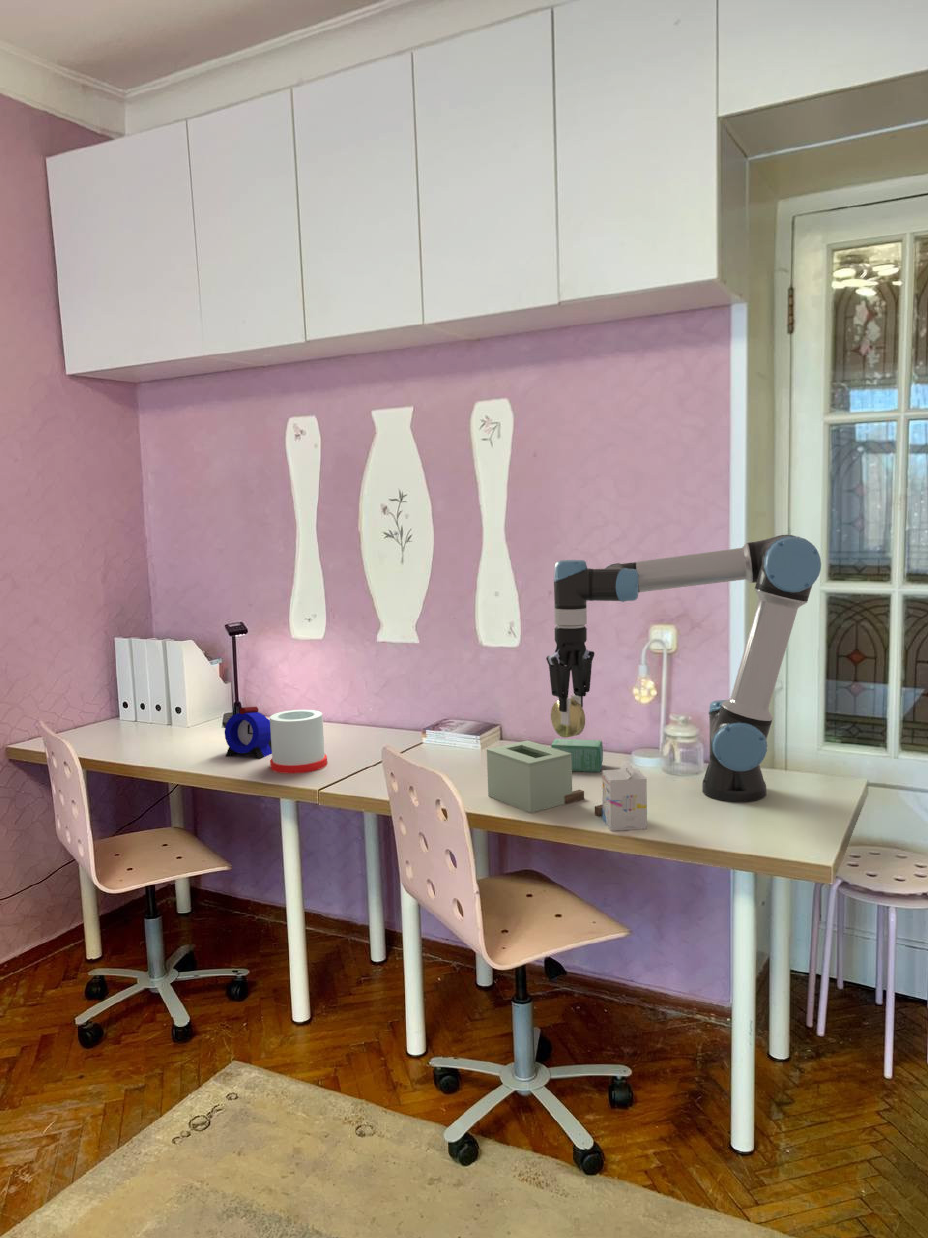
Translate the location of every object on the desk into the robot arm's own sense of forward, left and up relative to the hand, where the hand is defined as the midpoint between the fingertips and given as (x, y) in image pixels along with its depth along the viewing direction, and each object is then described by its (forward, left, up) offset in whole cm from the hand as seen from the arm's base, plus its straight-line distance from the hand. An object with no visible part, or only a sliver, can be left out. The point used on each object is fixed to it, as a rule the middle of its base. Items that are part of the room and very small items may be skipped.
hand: (571, 723), depth 226 cm
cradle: (-4, -2, -20) cm, 21 cm away
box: (+23, -22, -20) cm, 38 cm away
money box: (+10, +5, -20) cm, 23 cm away
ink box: (-18, 0, -20) cm, 27 cm away
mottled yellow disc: (+2, 0, -3) cm, 4 cm away
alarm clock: (+99, +41, -20) cm, 109 cm away
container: (+77, +36, -20) cm, 88 cm away
